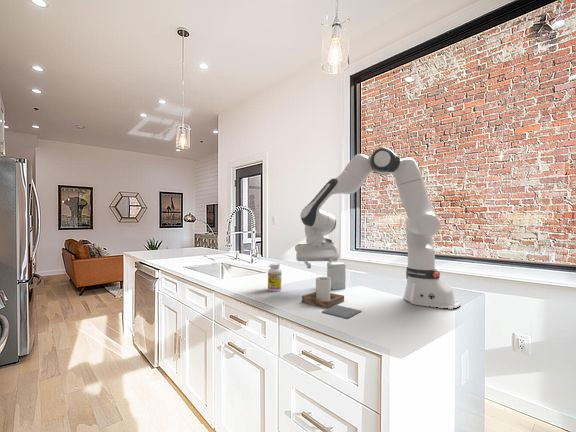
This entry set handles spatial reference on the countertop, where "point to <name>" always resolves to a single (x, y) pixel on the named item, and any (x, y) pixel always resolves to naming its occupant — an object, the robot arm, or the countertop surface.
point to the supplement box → (337, 275)
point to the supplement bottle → (274, 277)
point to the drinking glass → (323, 288)
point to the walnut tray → (327, 304)
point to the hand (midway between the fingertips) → (319, 267)
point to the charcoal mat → (341, 311)
